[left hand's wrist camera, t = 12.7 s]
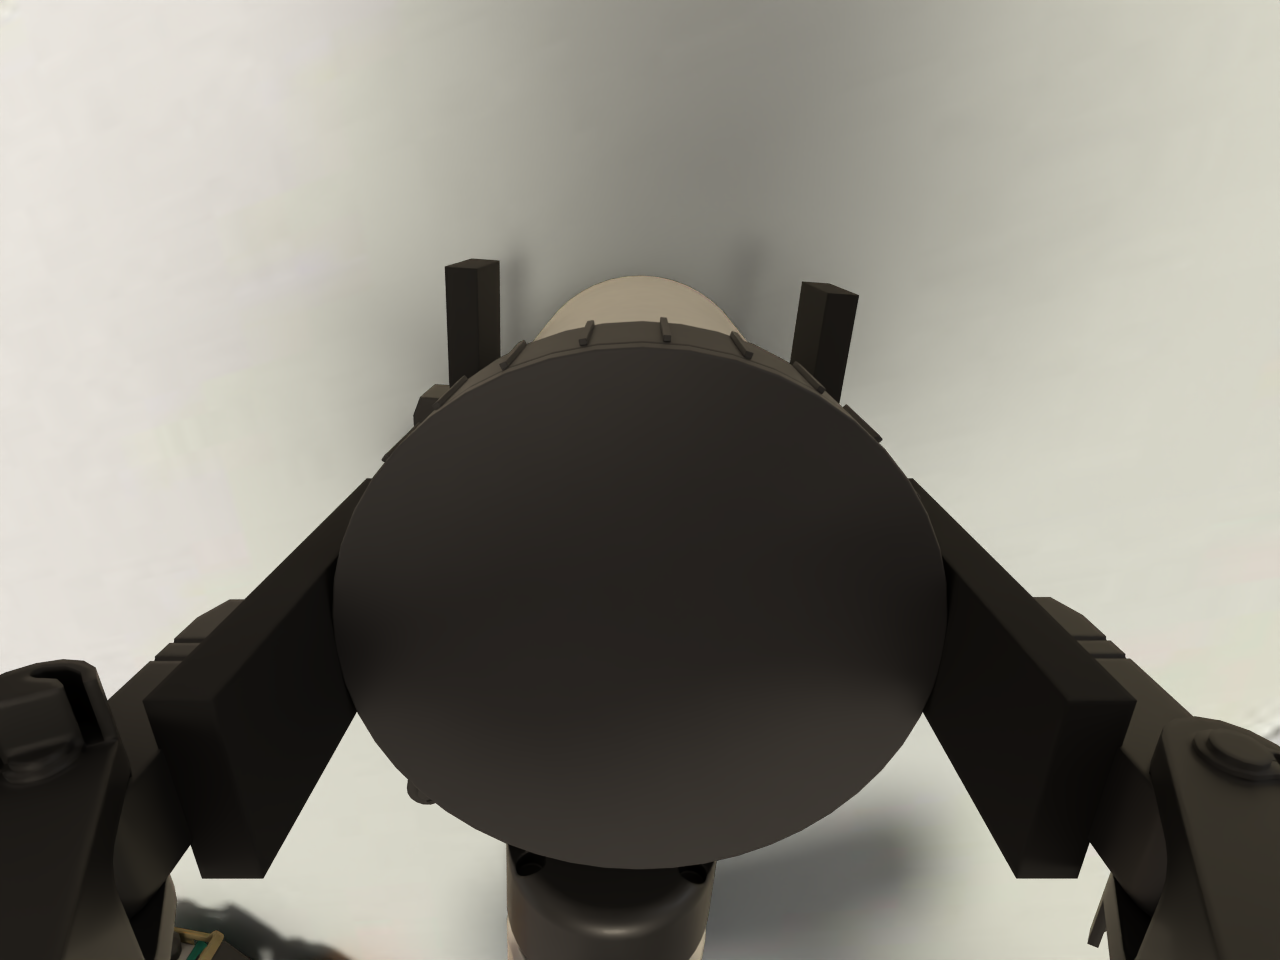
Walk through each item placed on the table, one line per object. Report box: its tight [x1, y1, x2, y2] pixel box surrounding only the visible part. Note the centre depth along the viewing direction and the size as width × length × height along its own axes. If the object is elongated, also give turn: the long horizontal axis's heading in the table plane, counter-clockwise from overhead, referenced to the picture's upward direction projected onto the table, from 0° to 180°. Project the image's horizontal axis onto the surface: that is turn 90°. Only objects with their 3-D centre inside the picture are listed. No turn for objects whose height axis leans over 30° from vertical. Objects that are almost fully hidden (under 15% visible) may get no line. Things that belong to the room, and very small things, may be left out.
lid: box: [332, 317, 948, 869], centre depth 11 cm, size 9×10×2 cm
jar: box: [533, 276, 747, 342], centre depth 18 cm, size 8×8×16 cm
